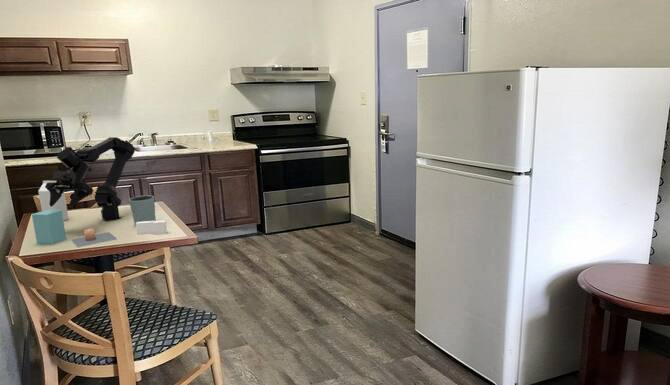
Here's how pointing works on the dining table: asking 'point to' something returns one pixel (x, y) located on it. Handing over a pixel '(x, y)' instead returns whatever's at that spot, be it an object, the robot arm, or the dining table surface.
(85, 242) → the slate mat
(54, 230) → the teal rectangular block
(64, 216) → the milk carton
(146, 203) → the teal tapered cup
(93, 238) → the peach capsule
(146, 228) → the napkin holder
